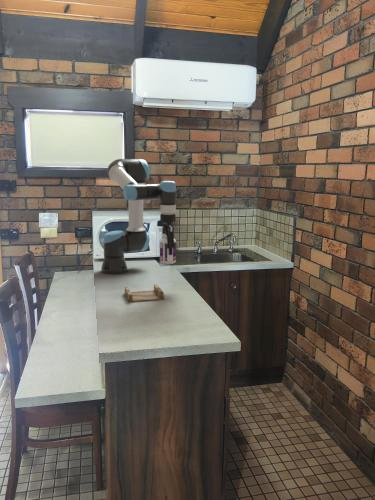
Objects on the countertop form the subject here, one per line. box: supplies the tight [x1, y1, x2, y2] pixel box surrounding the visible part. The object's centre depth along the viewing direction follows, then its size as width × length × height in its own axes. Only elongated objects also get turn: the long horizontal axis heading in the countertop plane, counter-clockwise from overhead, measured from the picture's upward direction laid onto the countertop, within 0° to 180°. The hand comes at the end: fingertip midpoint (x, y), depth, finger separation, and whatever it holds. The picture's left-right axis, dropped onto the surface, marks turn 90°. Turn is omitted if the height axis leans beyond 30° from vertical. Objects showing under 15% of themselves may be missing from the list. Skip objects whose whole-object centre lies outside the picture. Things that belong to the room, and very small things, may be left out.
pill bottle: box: [159, 233, 177, 265], centre depth 209 cm, size 8×8×14 cm
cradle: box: [124, 284, 165, 303], centre depth 202 cm, size 14×16×4 cm
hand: (167, 259), depth 211 cm, fingers closed on pill bottle, 8 cm apart
